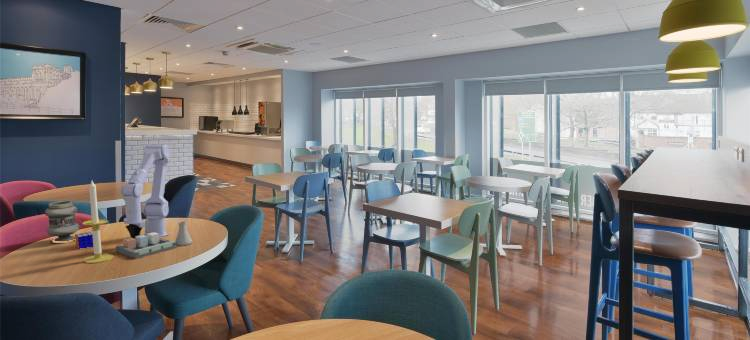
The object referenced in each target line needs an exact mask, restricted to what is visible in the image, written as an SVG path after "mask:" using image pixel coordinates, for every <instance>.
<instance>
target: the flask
mask: <svg viewBox="0 0 750 340" xmlns="http://www.w3.org/2000/svg"><path fill="white" fill-rule="evenodd" d="M177 225H178V232H177V234H176V238H175V240H174V241H175V242H176V246H188V245H191V244H192V243H193V240H192V237H191V236H190V233H189V231H188V227H187V221H179V222H178V224H177Z"/></svg>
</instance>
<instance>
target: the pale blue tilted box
mask: <svg viewBox="0 0 750 340" xmlns="http://www.w3.org/2000/svg"><path fill="white" fill-rule="evenodd" d="M135 238H136V244H139V245H142V246H147V245H148V236H145V235H143V234H141V235H140V236H135Z"/></svg>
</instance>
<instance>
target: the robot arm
mask: <svg viewBox="0 0 750 340" xmlns="http://www.w3.org/2000/svg"><path fill="white" fill-rule="evenodd" d="M142 152H143V157H142V160H141V162H140V165H139V167H138V169H134V171H133V173H132V175H131V176H130V178H129V179H128V182H127V183H125V184H124V185H123V186H122V187H121V190H120V194H121V195H122V197H123V198H122V199H123V201H124V204H125V205H124V206H125V218H123V224H124V225H125V228H126V230H127V231H128V233H129V236H130V238H134V239H136V238H135V236H140V234H141V232H142V229H143V228H144V234H142V235H145V236H147V234H149V233H153V232H155V233H159V238H162V237H165V236H169V235H171V234H170V233H169V232H166V231H167V230H166V217H167V216H168V214H169V210H170V208H169V201H168V200H166V198H165V197H164V193H165V186H166V178H167V171H168V163H169V162H170V159H171V148H170V146H169V145H167V144H166V143H165V144H150V143H149V144H146V145H145V146H144V148H143V150H142ZM153 164H154V172H153V179H152V186H151V194H150V197H149V198H148V199H146V200H145V202H144V206H143V208H141V205H142V204H141V196H142V194H143V191H144V184H145V183H146V180H147V179H148V176H149V175H148V171H149V169H150V168H151V166H152V165H153ZM142 214H143V215H144V217H146V219H145V220H144V221H143V219H142Z"/></svg>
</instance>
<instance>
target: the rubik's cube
mask: <svg viewBox="0 0 750 340" xmlns="http://www.w3.org/2000/svg"><path fill="white" fill-rule="evenodd" d="M74 235H75V236H74V237H75V238H76V241H75V247H76V246H77V247H78V248H79V249H78V248H77V247H76V248H77V249H78V250H81V249H80V248H85V249H88V248H87V247H90V248H94V247H93V234H92V231H87V232H81V233H76V234H75V233H74Z"/></svg>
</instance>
